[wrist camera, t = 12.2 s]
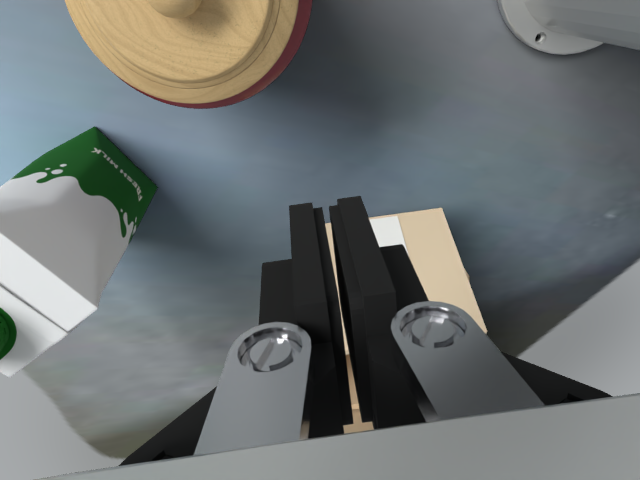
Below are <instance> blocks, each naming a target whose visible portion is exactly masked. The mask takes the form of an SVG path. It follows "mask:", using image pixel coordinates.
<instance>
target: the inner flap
mask: <svg viewBox="0 0 640 480" xmlns="http://www.w3.org/2000/svg"><path fill="white" fill-rule="evenodd" d="M369 220H370V223H371V226H372V229H373V231H374V234H375V237H376V239H377V242H378V245H379V247H384V246H391V245H399V244H403V246H404V247H405V250H406V252H407V254H408V256H409V258H410V260H411V263H412V265H413V267H414V269H415V271H416V274H417V276H418V278H419V280H420V282H421V284H422V287H423V289H424V291H425V293H426V295H427V297H428V300H429V301H437V302H444V303H448V304H452V305H455V306H457V307H459V308H461V309H463V310H464V311H465V312H467V313H468V314H469V315H470V316H471V317H472V318H473V319H474V321H475V322H476V323H477V324H478V325H479V327H480V328H481V329H482V330H483V331H484V333H485V334H486V333H487V329H486V327H485V324H484V321H483V319H482V316H481V313H480V310H479V308H478V305H477V302H476V300H475V297H474V294H473V291H472V289H471V286H470V283H469V280H468V278H467V275H466V272H465V270H464V267H463V264H462V261H461V259H460V256H459V253H458V251H457V248H456V245H455V242H454V240H453V237H452V234H451V232H450V229H449V226H448V223H447V221H446V218H445V215H444V213H443V210H442V208H437V209H430V210H422V211H415V212H407V213H400V214H393V215H385V216H378V217H370V218H369ZM325 226H326V232H327V237H328V242H329V248H330V253H331V258H332V264H333V269H334V275H335V280H336V285H337V291H338V297H339V289H338V281H337V272H336V263H335V254H334V246H333V237H332V228H331V223H326V224H325ZM339 303H340V298H339ZM340 310H341V306H340ZM341 319H342V327H343V336H344V345H345V353H346V355H347V354H349V350H348V345H347V340H346V334H345V329H344V323H343V318H342V312H341Z"/></svg>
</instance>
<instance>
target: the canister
mask: <svg viewBox="0 0 640 480" xmlns="http://www.w3.org/2000/svg"><path fill="white" fill-rule="evenodd" d="M65 2H66V5H67V8H68V11H69V13H70V15H71V17H72V20H73V22H74V24H75V25H76V27H77V29H78V31H79V33H80V34H81V36H82V38H83V39H84V41H85V42H86V43H87V45H88V46H89V48H90V49H91V50H92V51H93V53H94V54H95V55H96V56H97V57H98V58H99V59H100V60H101V62H102V63H103V64H104V65H105V66H106V67H107V68H108V69H109V70H111V71H112V72H113V73H114V74H115V75H116V76H117V77H119V78H120V79H121V80H122V81H124V82H125V83H126V84H128V85H129V86H131V87H132V88H134V89H135V90H137V91H139V92H141V93H143V94H144V95H146V96H149V97H151V98H153V99H155V100H158V101H161V102H163V103H167V104H170V105H174V106H179V107H184V108H194V109H210V108H218V107H224V106H228V105H232V104H235V103H238V102H241V101H243V100H246V99H248V98H250V97H252V96H254V95H255V94H257V93H259V92H260V91H262V90H263V89H265V88H266V87H267V86H269V85H270V84H271V83H272V82H273V81H274V80H275V79H276V78H278V77H279V75H280V74H281V73H282V72H283V71H284V70H285V69H286V67H287V66H288V65H289V63H290V62H291V60H292V59H293V57H294V56H295V54H296V52H297V51H298V49H299V47H300V45H301V42H302V40H303V38H304V35H305V32H306V30H307V26H308V23H309V19H310V14H311V9H312V2H313V0H65Z"/></svg>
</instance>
